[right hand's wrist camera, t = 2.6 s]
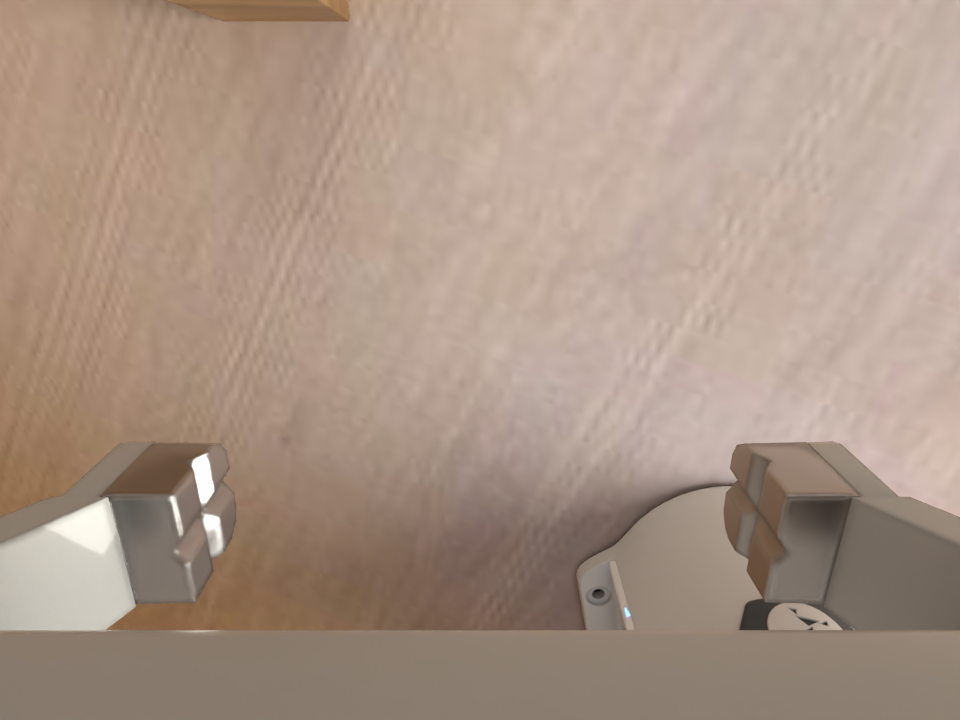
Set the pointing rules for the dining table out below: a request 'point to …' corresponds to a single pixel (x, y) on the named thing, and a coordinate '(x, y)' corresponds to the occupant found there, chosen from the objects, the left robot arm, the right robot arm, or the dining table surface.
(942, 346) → the dining table surface
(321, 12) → the box
